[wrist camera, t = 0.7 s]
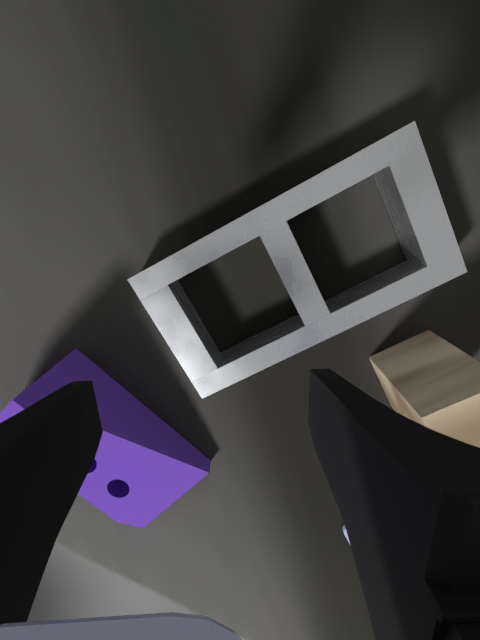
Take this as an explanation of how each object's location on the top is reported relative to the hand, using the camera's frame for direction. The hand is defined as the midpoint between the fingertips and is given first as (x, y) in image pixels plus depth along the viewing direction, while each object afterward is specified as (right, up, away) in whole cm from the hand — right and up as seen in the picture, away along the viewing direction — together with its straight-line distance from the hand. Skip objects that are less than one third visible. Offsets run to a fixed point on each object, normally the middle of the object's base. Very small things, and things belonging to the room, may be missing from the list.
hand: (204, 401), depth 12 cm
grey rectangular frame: (+4, +6, +9) cm, 12 cm away
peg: (+12, 0, +11) cm, 17 cm away
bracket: (-8, -5, +13) cm, 16 cm away
